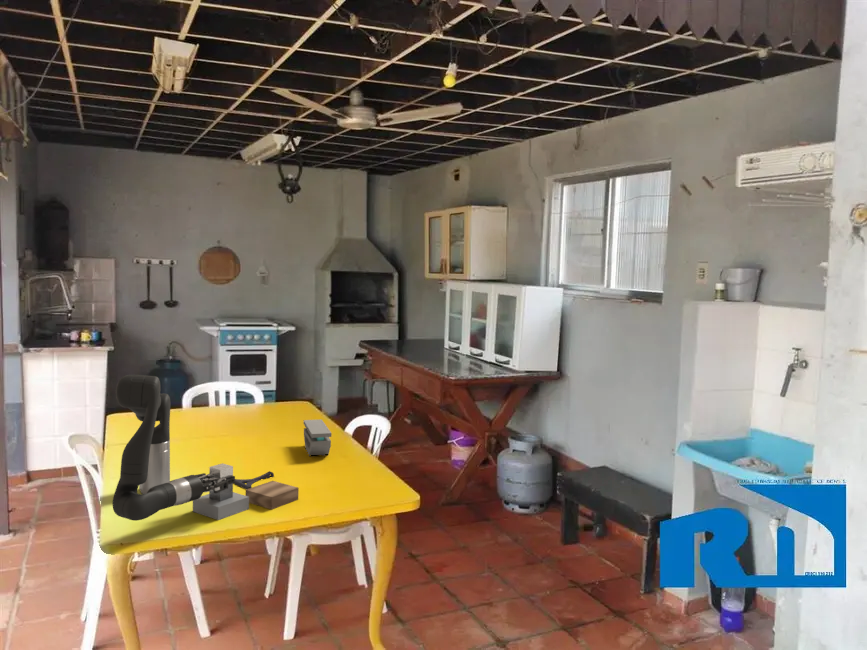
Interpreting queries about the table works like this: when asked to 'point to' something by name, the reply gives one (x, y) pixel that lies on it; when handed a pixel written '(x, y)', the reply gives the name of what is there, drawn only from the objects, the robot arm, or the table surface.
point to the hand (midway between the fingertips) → (227, 477)
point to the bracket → (252, 480)
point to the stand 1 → (221, 506)
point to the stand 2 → (272, 494)
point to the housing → (221, 472)
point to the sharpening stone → (316, 437)
